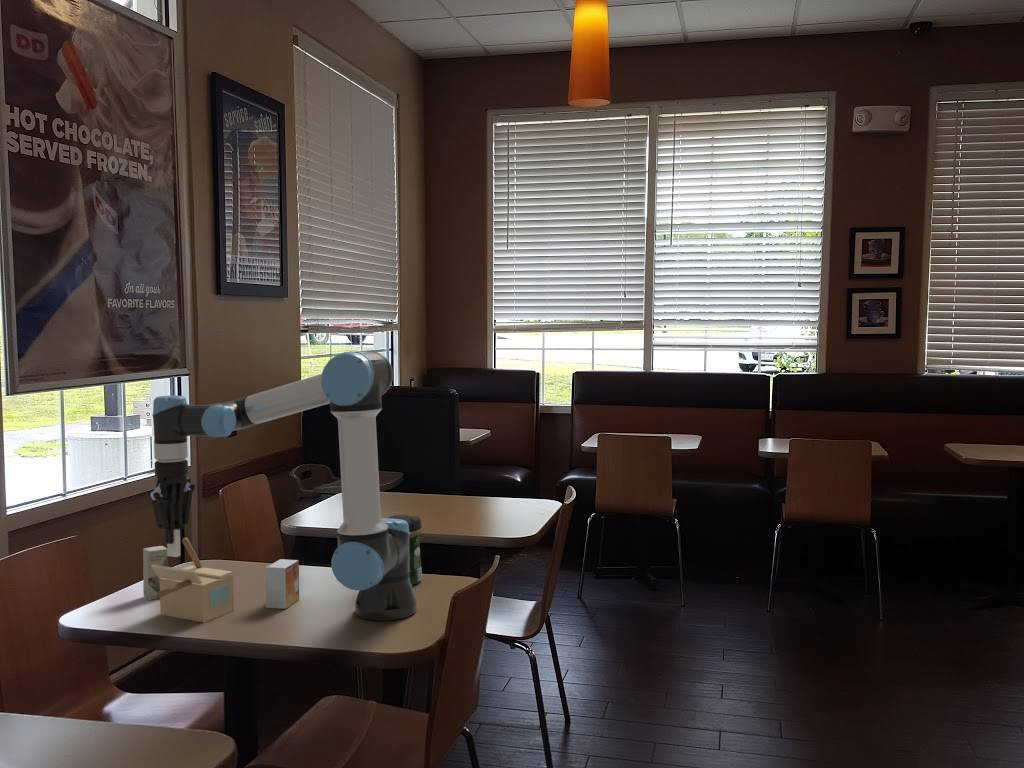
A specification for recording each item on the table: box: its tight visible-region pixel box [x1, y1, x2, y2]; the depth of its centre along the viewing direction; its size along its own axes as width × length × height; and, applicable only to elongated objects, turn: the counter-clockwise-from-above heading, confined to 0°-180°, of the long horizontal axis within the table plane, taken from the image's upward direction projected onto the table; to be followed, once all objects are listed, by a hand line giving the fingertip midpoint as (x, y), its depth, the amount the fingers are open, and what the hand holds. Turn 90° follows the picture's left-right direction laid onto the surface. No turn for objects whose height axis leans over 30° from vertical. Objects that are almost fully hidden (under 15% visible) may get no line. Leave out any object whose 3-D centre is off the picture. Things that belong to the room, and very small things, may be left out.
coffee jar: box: [387, 514, 423, 586], centre depth 240 cm, size 10×8×19 cm
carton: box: [159, 573, 235, 623], centre depth 215 cm, size 14×10×9 cm
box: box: [142, 545, 169, 601], centre depth 227 cm, size 5×4×13 cm
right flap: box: [181, 537, 233, 578], centre depth 216 cm, size 14×6×9 cm, turn 65°
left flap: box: [151, 564, 202, 599], centre depth 205 cm, size 14×6×9 cm
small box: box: [264, 558, 300, 610], centre depth 221 cm, size 8×6×10 cm
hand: (174, 555), depth 212 cm, fingers closed
